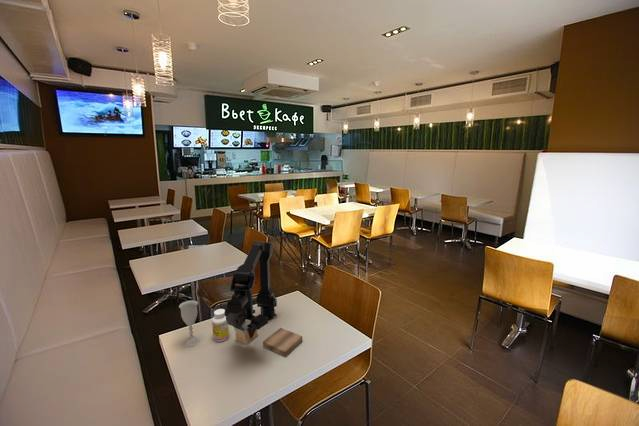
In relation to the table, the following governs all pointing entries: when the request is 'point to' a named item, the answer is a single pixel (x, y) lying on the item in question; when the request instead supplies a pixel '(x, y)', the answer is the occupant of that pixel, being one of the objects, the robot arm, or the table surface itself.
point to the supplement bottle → (220, 326)
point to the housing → (244, 334)
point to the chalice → (189, 319)
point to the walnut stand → (282, 342)
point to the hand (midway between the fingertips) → (246, 335)
